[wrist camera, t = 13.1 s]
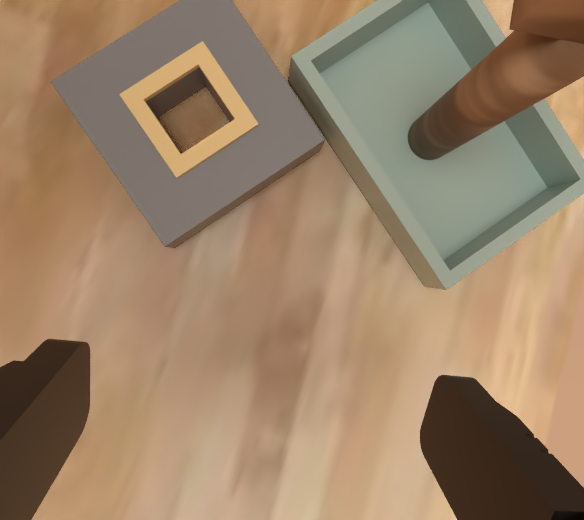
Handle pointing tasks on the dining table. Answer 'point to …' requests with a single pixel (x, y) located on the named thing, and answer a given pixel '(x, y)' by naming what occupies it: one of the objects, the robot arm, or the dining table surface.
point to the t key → (507, 77)
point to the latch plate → (174, 89)
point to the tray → (408, 108)
